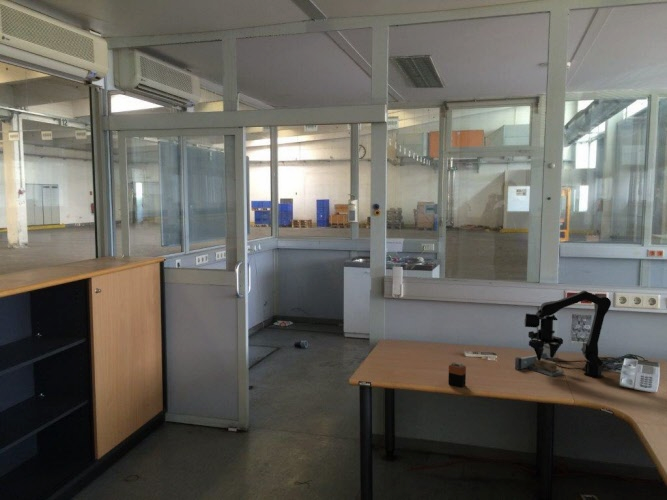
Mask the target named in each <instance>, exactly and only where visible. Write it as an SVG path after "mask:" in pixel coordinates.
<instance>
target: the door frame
mask: <svg viewBox="0 0 667 500" xmlns="http://www.w3.org/2000/svg"><path fill="white" fill-rule="evenodd" d="M521 358H522V357H519V356H516V357H515V360H514V361H515V362H514V364H515V366H514V370H517V371H520V370H522V369H521ZM542 359H545V360H547V358H546V353H542Z"/></svg>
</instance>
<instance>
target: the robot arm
mask: <svg viewBox="0 0 667 500" xmlns="http://www.w3.org/2000/svg"><path fill="white" fill-rule="evenodd" d="M583 301H588V302H590V303H593V304H594V314H593V319H592V324H591V327H590V330H589V331H590V332H589V335H588V339H587V342H583V343H582V347H581V349H580V351H581V352H582V355H583V356H584V358H585V359H586V360H587V361H585V365H584V372H583V375H586V376H589V377H592V378H594V379H597V378H600V377H603V376H604V374H602V371H603V364H604V361H603V360H602V358H600V357H599V340H600V337H601V330H602V327H603V324H604V319H605V316H606V314H607V313H608V311H609V310H610V307H611V305H612V300H611V299H610V298H609V297H607V296H606V295H604V294H603V295H602V294H599V295H597V294H595V293H592V292H589V291H587V290H582V291H580V292H577V293H575V294H574V293H573V294H572V295H569V296H566V297H563V298H561V299H559V300H552V301H546V302H543V303H542V304H541V305H540V309H539V310H538V311H537V312H536V313H535V314H534V313H528V312H525V316H524V328H535V329H538V327H539V329H538V330H537V332H534V330H533V331H528V338H529V339H530V340H529V341H528V346H529V347H530V348H532V349H533V350H534V352H535V355H537V358H538V360H541V357H542V353H543V350H544V348H543V346H544V344H549V346H550V357H551V358H550V359H554V358H553V356H554V355H555V353H556V354H557V352H558V350H559V348H560V347H561V346H562V345H563V343H564V340H563V338H562V337H558V336H555V335H554V336H553V333H554V334H555V333H556V331H555V330H554V321H558V318H557V317H556V316H555V314H556V313H558V312H559V311H560V310H562V309H564V308H567V307H570V306H573V305H574V304H578V303H581V302H583ZM553 330H554V331H553ZM539 340H540V341H539Z"/></svg>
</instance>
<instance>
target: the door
mask: <svg viewBox="0 0 667 500" xmlns="http://www.w3.org/2000/svg"><path fill="white" fill-rule="evenodd" d="M520 358H521V370H522V369H528V365H533V364H535V359H536V358H537V355H536V354H535V355H529V356H524V357H520ZM541 358H542V357H541Z"/></svg>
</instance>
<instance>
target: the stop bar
mask: <svg viewBox="0 0 667 500" xmlns="http://www.w3.org/2000/svg"><path fill="white" fill-rule="evenodd" d="M535 367H537V368H540V369H543V370H546V371H549V372H556V369H558V368H557V367H558V366H557V362H555V361H552V360H548V359H546V360H545V359H542V358H541V360H538V358H536V359H535Z"/></svg>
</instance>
